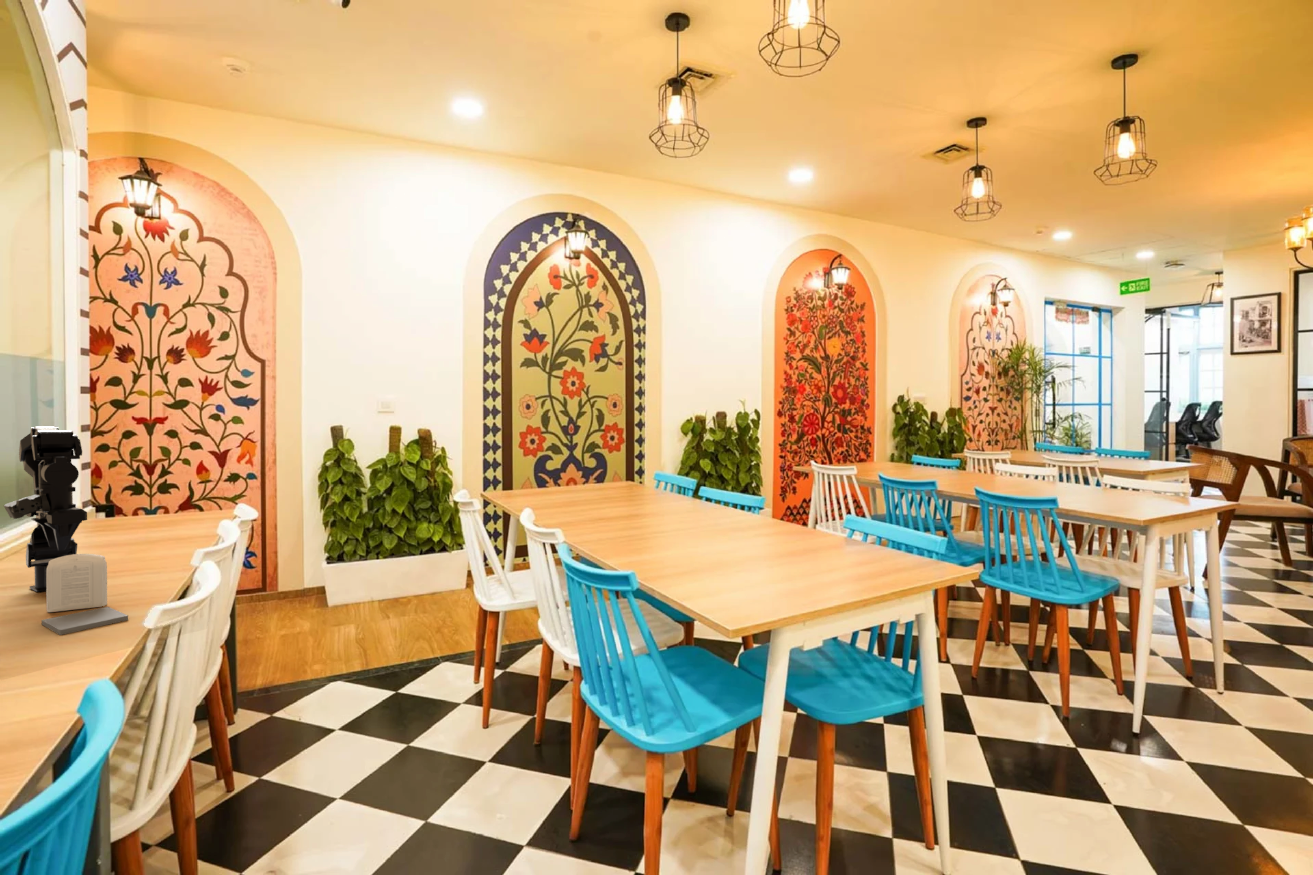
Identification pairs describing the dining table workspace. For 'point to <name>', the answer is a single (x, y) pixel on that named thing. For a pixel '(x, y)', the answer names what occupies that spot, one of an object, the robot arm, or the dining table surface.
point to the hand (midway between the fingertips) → (57, 548)
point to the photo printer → (76, 582)
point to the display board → (84, 620)
